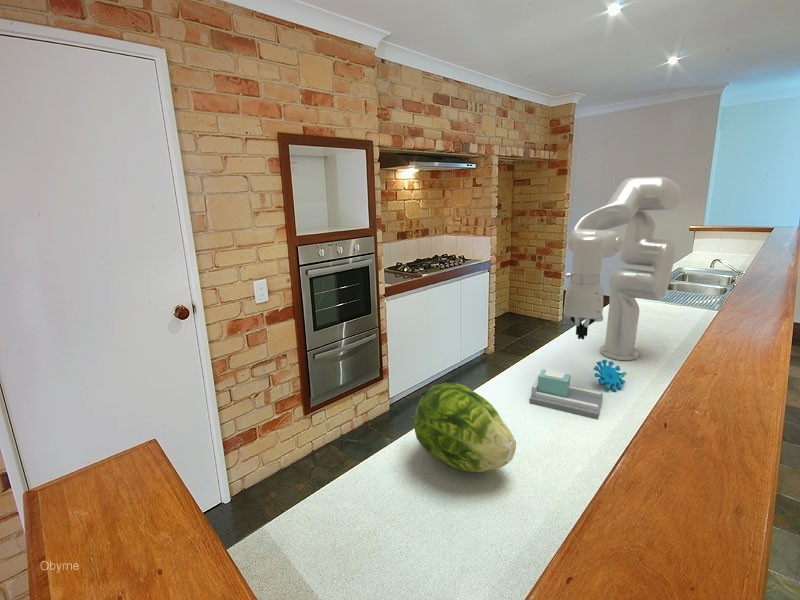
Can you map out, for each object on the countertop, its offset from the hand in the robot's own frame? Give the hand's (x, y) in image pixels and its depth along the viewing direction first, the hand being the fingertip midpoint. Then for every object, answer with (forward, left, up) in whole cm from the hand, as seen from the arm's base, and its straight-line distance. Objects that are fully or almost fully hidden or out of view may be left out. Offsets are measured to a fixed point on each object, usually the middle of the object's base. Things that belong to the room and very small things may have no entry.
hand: (581, 337), depth 119 cm
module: (+10, -5, -15) cm, 19 cm away
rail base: (+10, -1, -17) cm, 19 cm away
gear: (-6, +9, -17) cm, 20 cm away
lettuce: (+49, -17, -17) cm, 54 cm away
